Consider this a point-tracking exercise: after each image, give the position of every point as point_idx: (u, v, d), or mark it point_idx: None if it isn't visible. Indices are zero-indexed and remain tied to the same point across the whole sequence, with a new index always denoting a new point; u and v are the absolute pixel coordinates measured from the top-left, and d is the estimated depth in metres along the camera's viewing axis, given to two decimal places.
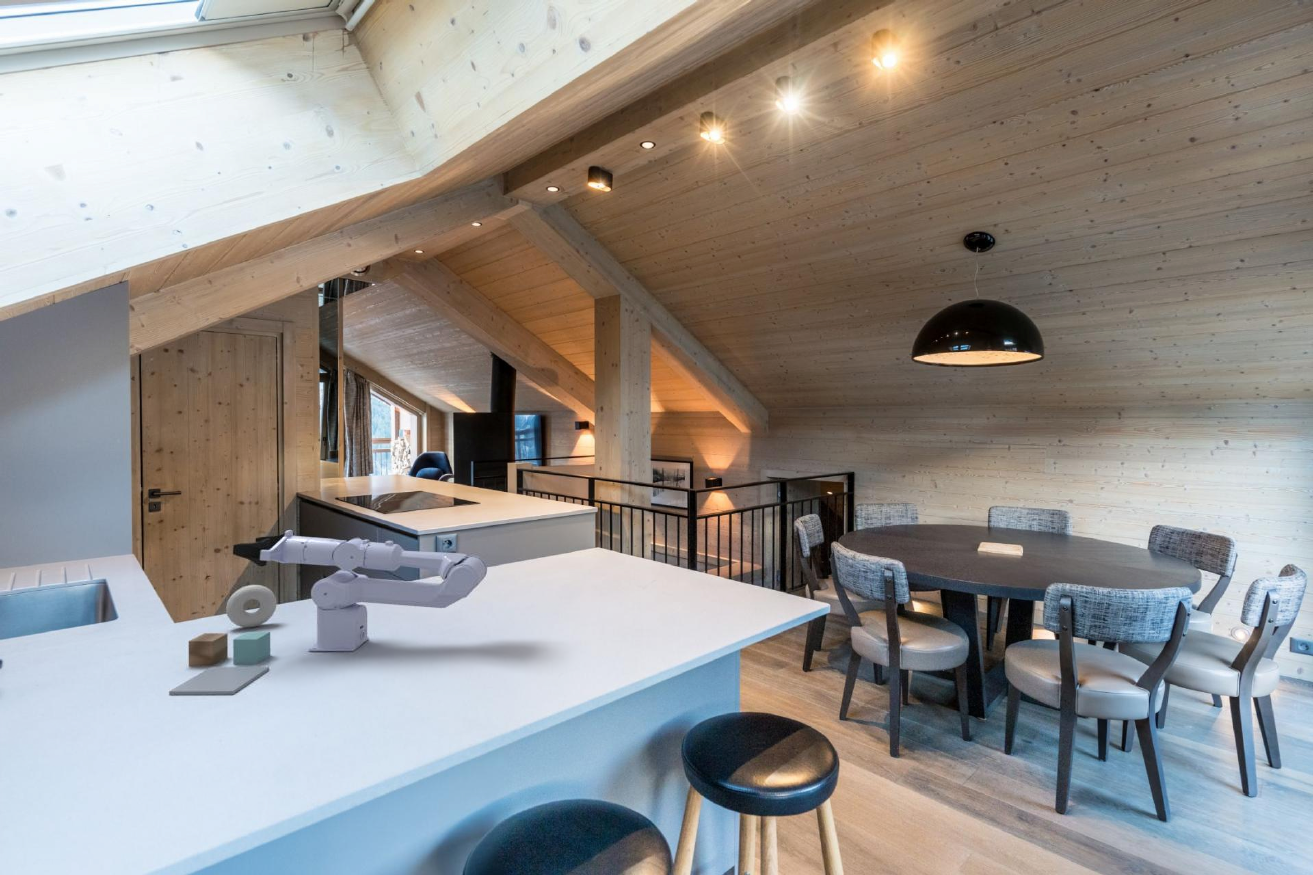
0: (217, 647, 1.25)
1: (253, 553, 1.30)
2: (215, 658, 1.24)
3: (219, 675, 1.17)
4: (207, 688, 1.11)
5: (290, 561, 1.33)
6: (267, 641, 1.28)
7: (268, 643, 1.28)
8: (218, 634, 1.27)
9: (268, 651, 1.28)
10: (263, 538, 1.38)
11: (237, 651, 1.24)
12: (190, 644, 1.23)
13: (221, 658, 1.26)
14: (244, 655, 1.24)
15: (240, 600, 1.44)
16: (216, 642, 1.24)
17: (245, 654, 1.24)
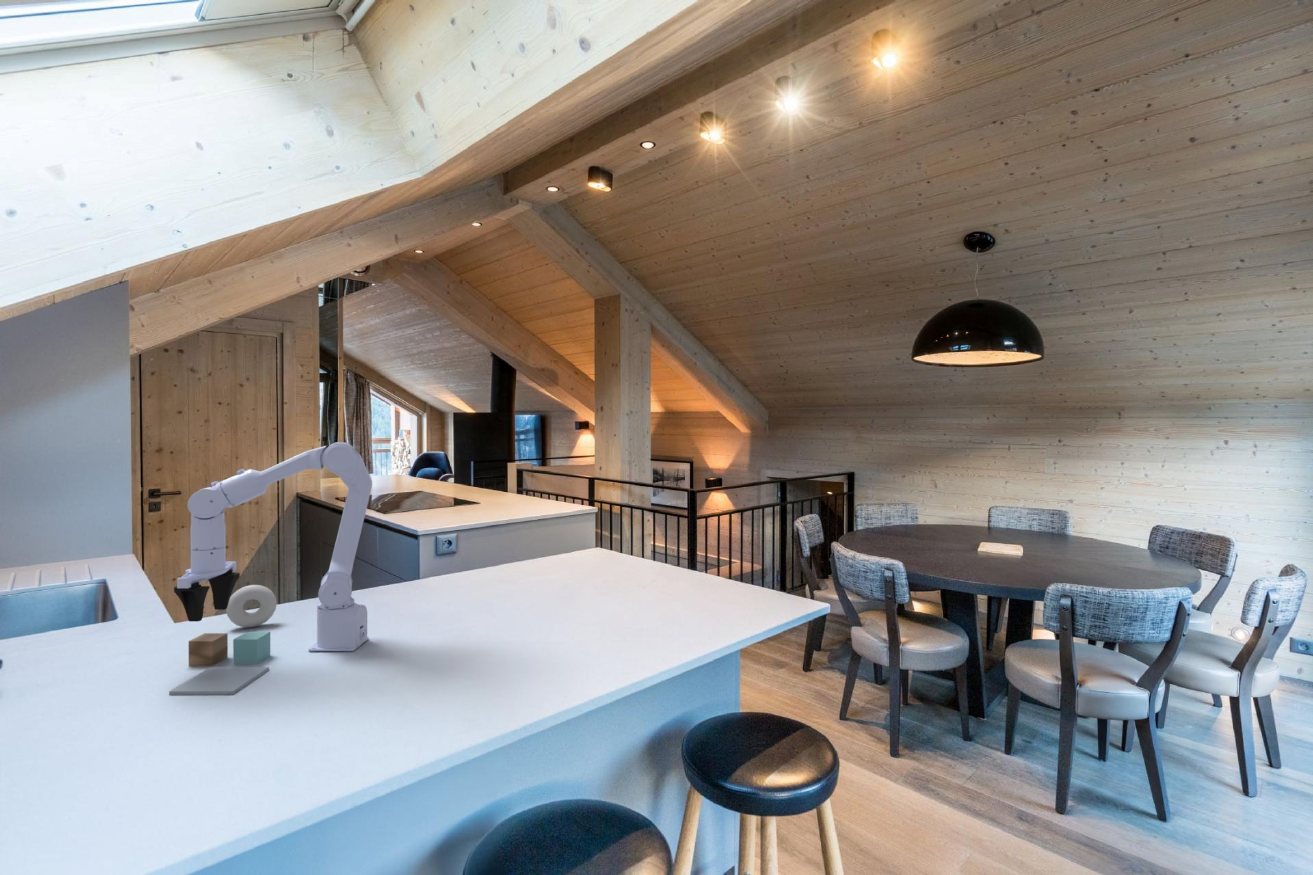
0: (217, 647, 1.25)
1: (195, 599, 1.21)
2: (215, 658, 1.24)
3: (219, 675, 1.17)
4: (207, 688, 1.11)
5: (213, 564, 1.23)
6: (267, 641, 1.28)
7: (268, 643, 1.28)
8: (218, 634, 1.27)
9: (268, 651, 1.28)
10: (214, 601, 1.29)
11: (237, 651, 1.24)
12: (190, 644, 1.23)
13: (221, 658, 1.26)
14: (244, 655, 1.24)
15: (240, 600, 1.44)
16: (216, 642, 1.24)
17: (245, 654, 1.24)
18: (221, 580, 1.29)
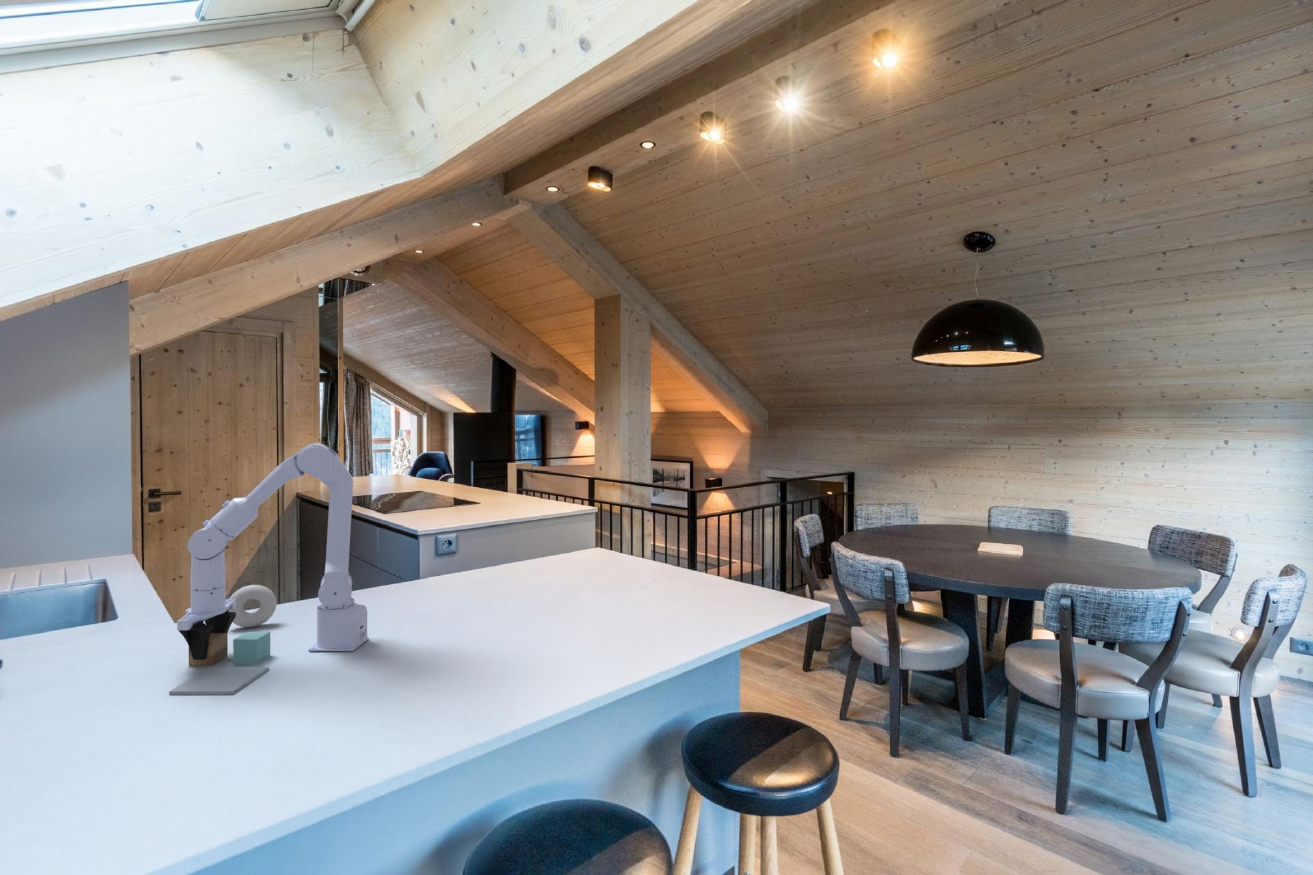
0: (217, 647, 1.25)
1: (199, 638, 1.22)
2: (215, 658, 1.24)
3: (219, 675, 1.17)
4: (207, 688, 1.11)
5: (213, 604, 1.23)
6: (267, 641, 1.28)
7: (268, 643, 1.28)
8: (218, 633, 1.27)
9: (268, 651, 1.28)
10: None
11: (237, 651, 1.24)
12: None
13: (221, 658, 1.26)
14: (244, 655, 1.24)
15: (240, 600, 1.44)
16: (216, 641, 1.24)
17: (245, 654, 1.24)
18: (217, 621, 1.28)
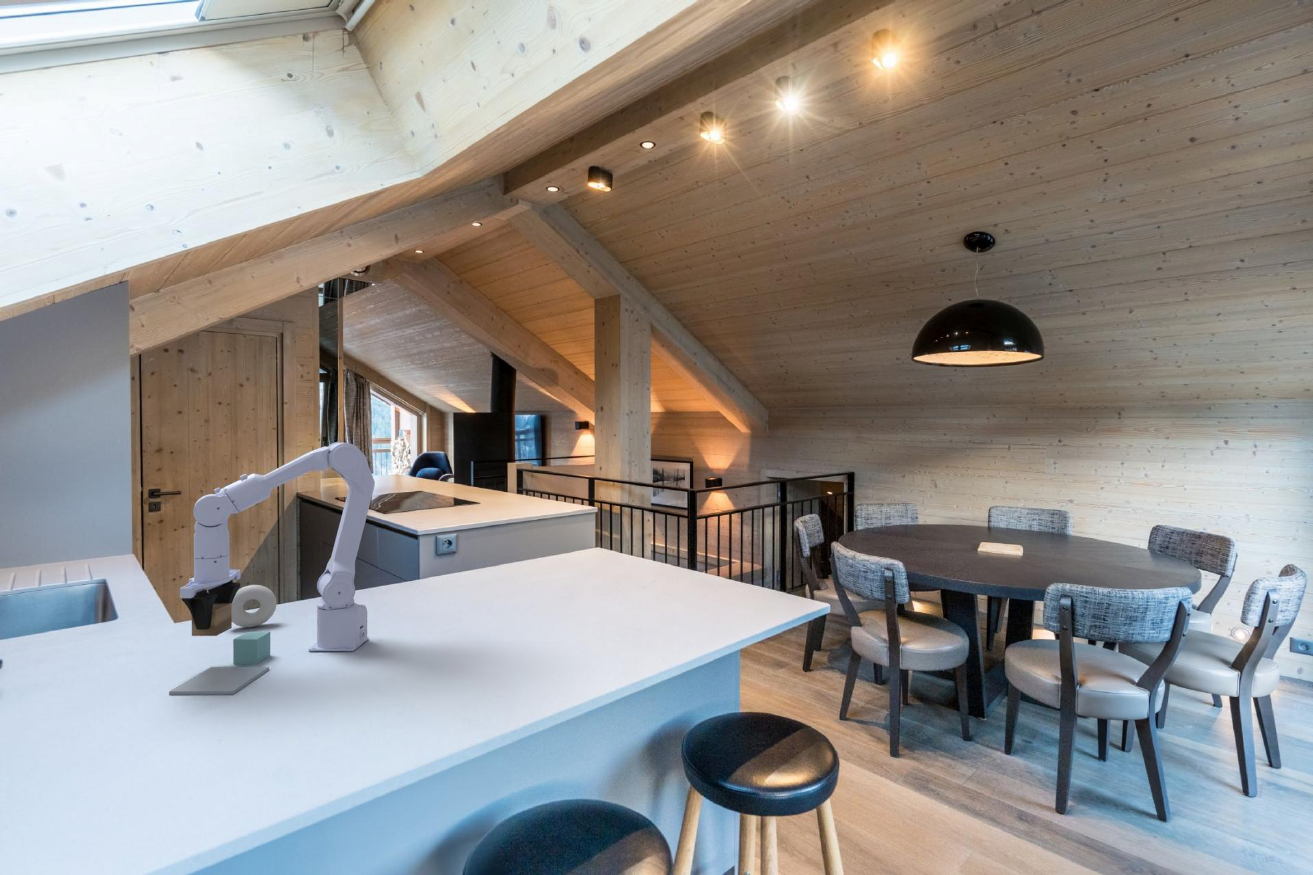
0: (220, 617, 1.22)
1: (203, 607, 1.19)
2: (218, 628, 1.21)
3: (219, 675, 1.17)
4: (207, 688, 1.11)
5: (217, 573, 1.21)
6: (267, 641, 1.28)
7: (268, 643, 1.28)
8: (222, 604, 1.24)
9: (268, 651, 1.28)
10: None
11: (237, 651, 1.24)
12: None
13: (225, 628, 1.23)
14: (244, 655, 1.24)
15: (240, 600, 1.44)
16: (220, 611, 1.21)
17: (245, 654, 1.24)
18: (221, 591, 1.25)
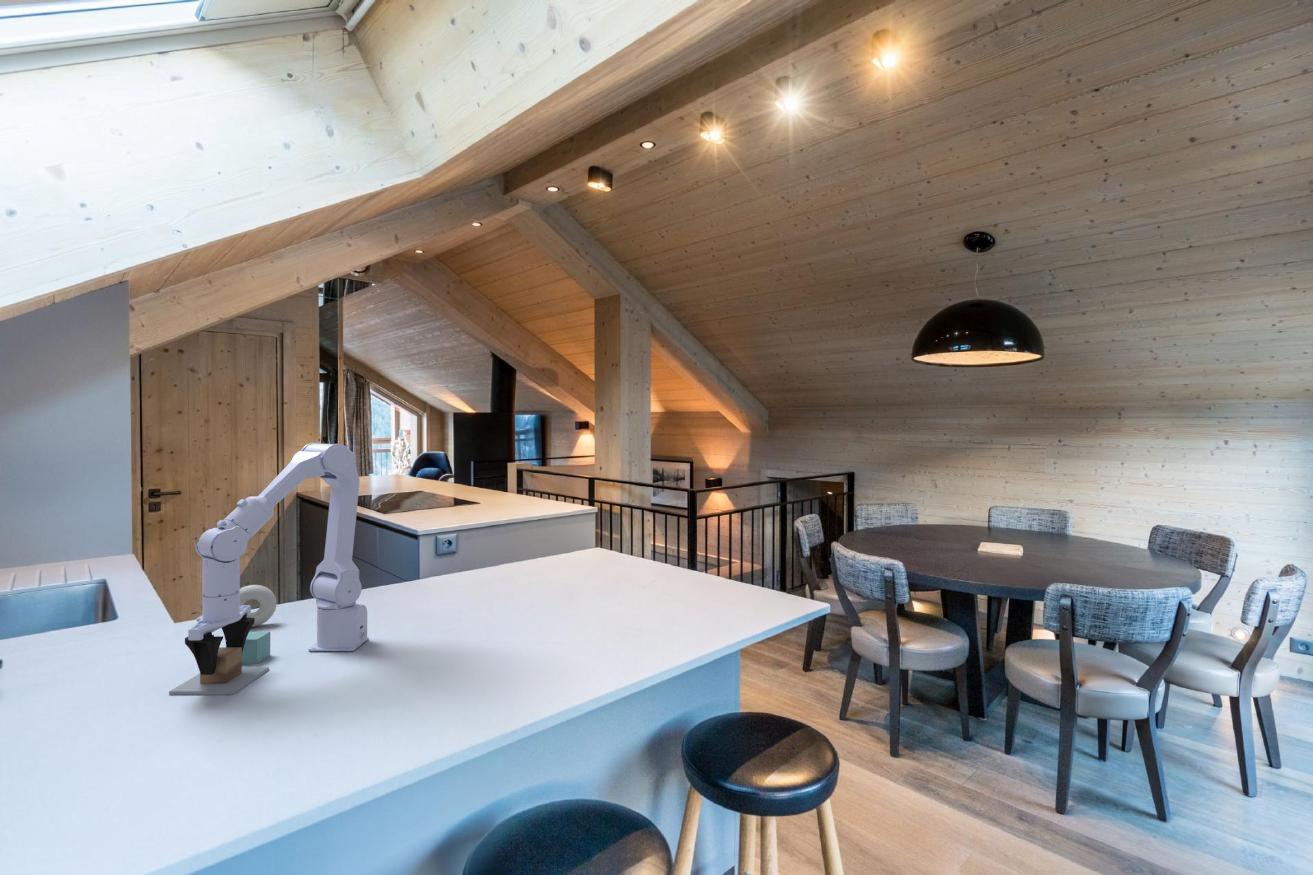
0: (231, 663, 1.15)
1: (207, 651, 1.11)
2: (228, 675, 1.14)
3: None
4: (207, 688, 1.11)
5: (227, 612, 1.14)
6: (267, 641, 1.28)
7: (268, 643, 1.28)
8: (232, 648, 1.17)
9: (268, 651, 1.28)
10: None
11: None
12: None
13: (235, 674, 1.16)
14: (244, 655, 1.24)
15: (240, 600, 1.44)
16: (230, 657, 1.15)
17: (245, 654, 1.24)
18: (235, 627, 1.19)
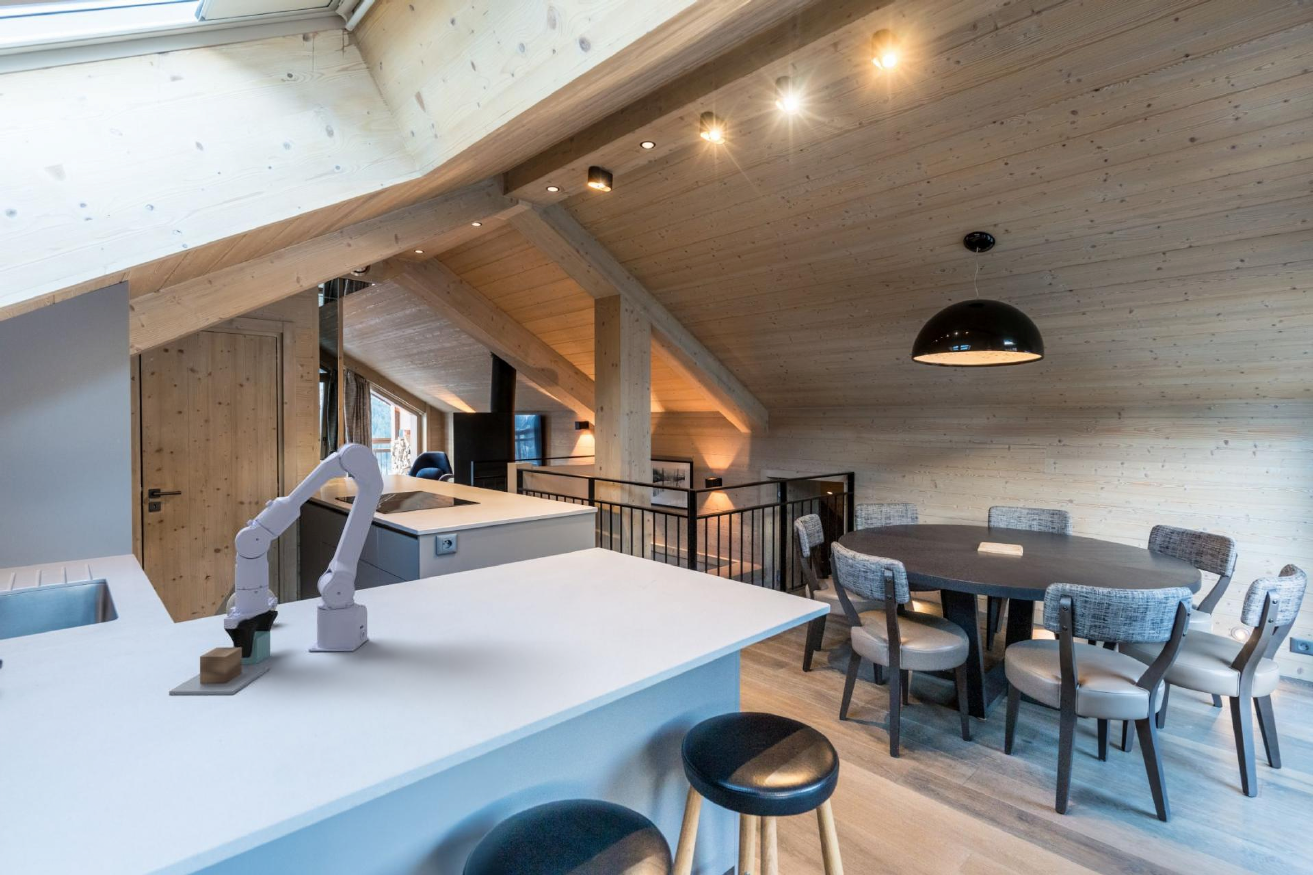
0: (231, 663, 1.15)
1: (244, 636, 1.23)
2: (228, 675, 1.14)
3: None
4: (207, 688, 1.11)
5: (258, 603, 1.25)
6: (267, 641, 1.28)
7: (268, 643, 1.28)
8: (232, 648, 1.17)
9: (268, 651, 1.28)
10: None
11: None
12: (202, 660, 1.13)
13: (235, 674, 1.16)
14: None
15: None
16: (230, 657, 1.15)
17: None
18: (260, 619, 1.29)
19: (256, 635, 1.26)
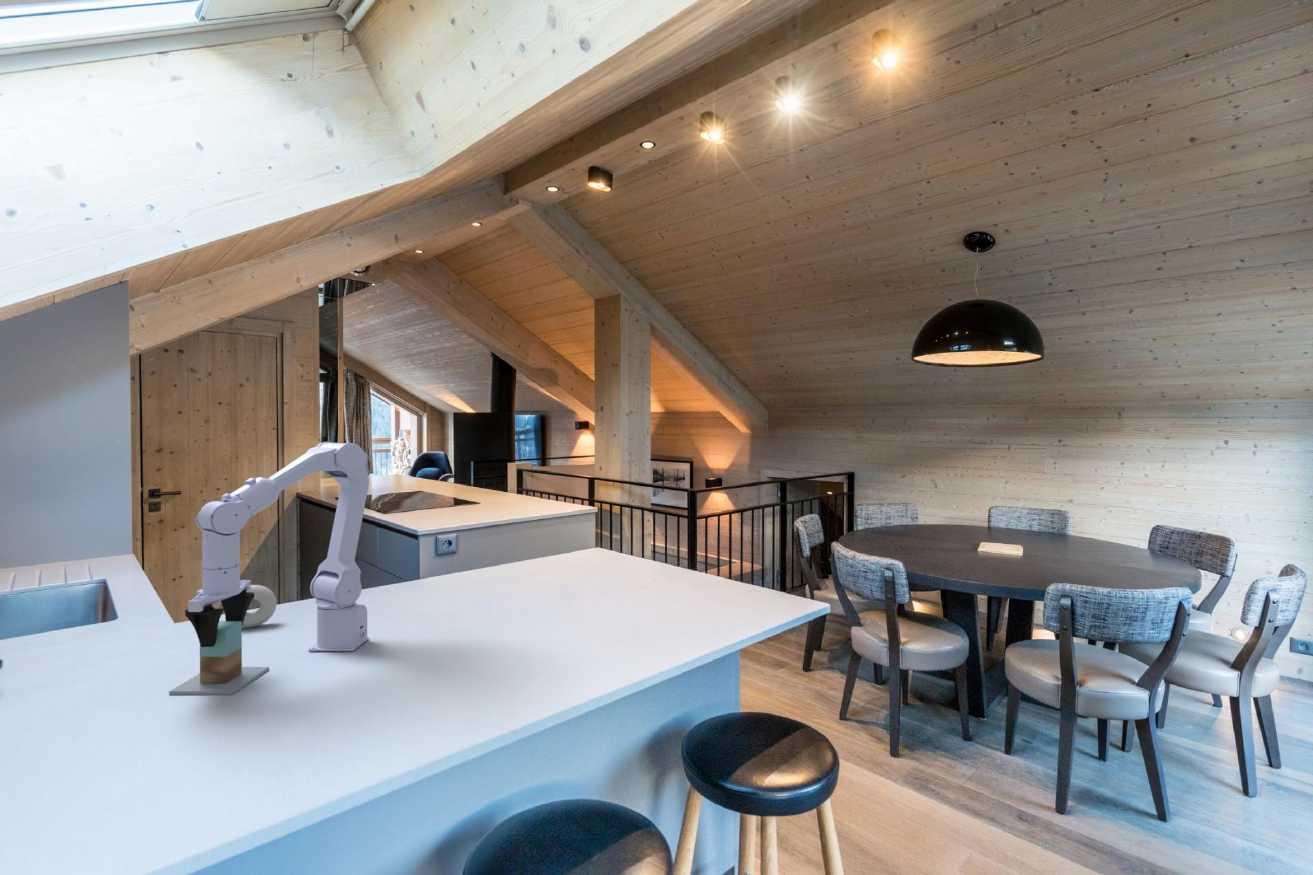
0: (231, 663, 1.15)
1: (208, 623, 1.11)
2: (228, 675, 1.14)
3: None
4: (207, 688, 1.11)
5: (227, 584, 1.14)
6: (238, 631, 1.17)
7: (239, 634, 1.17)
8: None
9: (239, 642, 1.17)
10: None
11: None
12: (202, 660, 1.13)
13: (235, 674, 1.16)
14: (212, 647, 1.13)
15: None
16: (230, 657, 1.15)
17: None
18: (235, 601, 1.19)
19: (225, 625, 1.15)
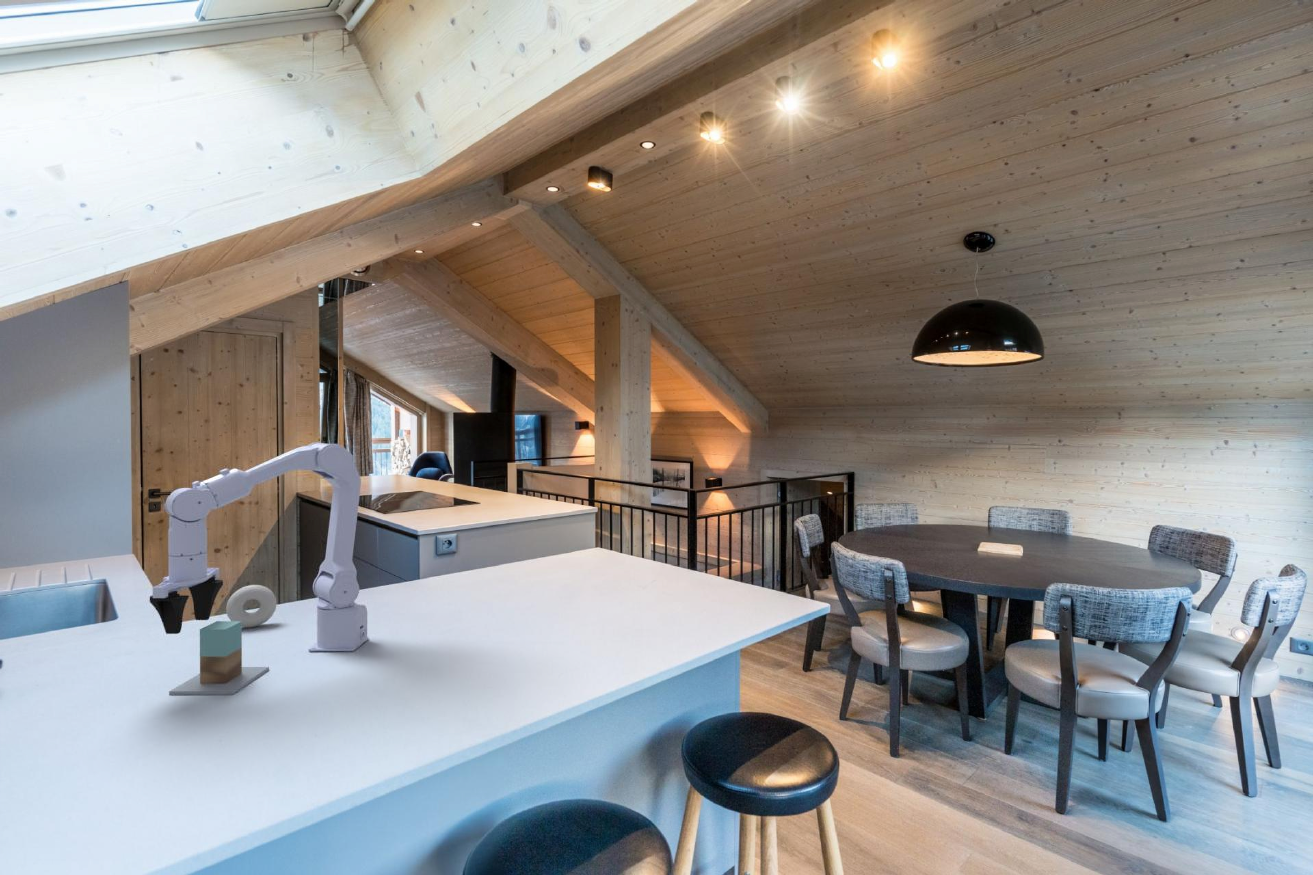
0: (231, 663, 1.15)
1: (173, 610, 1.11)
2: (228, 675, 1.14)
3: None
4: (207, 688, 1.11)
5: (193, 571, 1.13)
6: (238, 631, 1.17)
7: (239, 634, 1.17)
8: None
9: (239, 642, 1.17)
10: (195, 611, 1.19)
11: (204, 642, 1.13)
12: (202, 660, 1.13)
13: (235, 674, 1.16)
14: (212, 647, 1.13)
15: (240, 600, 1.44)
16: (230, 657, 1.15)
17: (212, 645, 1.13)
18: (203, 588, 1.19)
19: (225, 625, 1.15)
